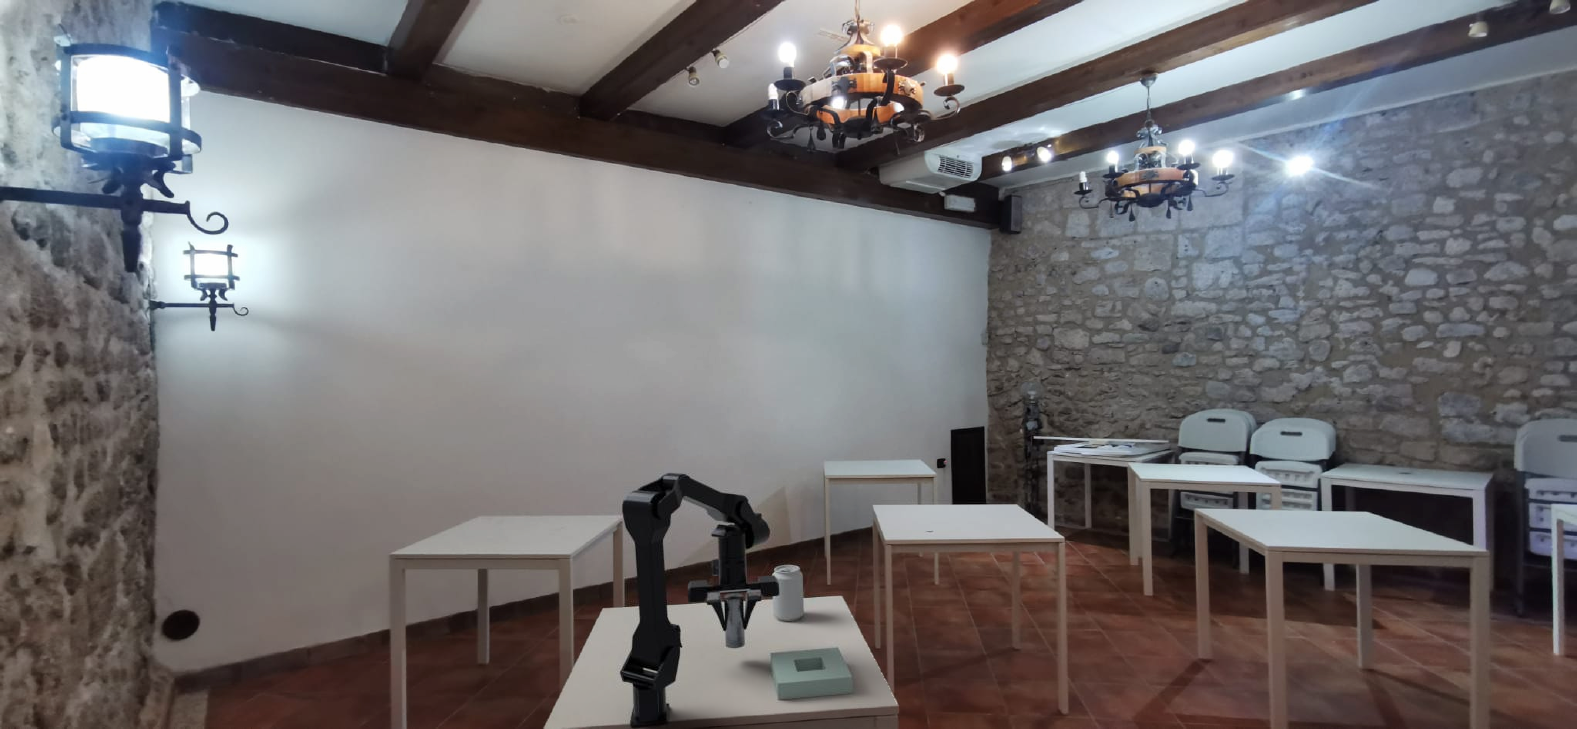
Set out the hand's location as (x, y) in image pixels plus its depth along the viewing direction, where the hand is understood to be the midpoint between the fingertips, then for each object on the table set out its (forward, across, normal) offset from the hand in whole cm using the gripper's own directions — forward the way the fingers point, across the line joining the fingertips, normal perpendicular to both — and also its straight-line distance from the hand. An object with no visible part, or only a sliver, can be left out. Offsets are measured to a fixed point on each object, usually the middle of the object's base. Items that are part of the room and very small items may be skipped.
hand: (734, 629), depth 148 cm
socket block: (+7, -14, +11) cm, 19 cm away
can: (+7, -14, -24) cm, 29 cm away
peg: (+3, 0, 0) cm, 3 cm away
